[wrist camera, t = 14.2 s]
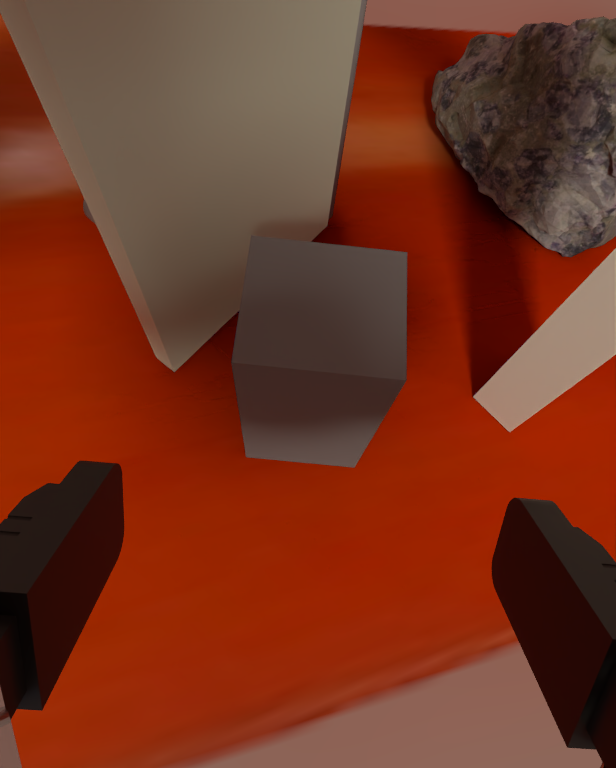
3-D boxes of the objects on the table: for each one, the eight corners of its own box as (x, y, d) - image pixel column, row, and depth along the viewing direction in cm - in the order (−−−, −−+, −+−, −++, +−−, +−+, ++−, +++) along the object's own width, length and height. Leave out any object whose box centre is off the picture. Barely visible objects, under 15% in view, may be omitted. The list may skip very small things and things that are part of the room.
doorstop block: (354, 467, 24) (406, 380, 15) (246, 457, 24) (231, 362, 15) (358, 378, 26) (407, 252, 17) (257, 368, 26) (251, 235, 16)
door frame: (268, 197, 30) (267, -651, 10) (308, 173, 31) (379, -647, 11) (509, 432, 25) (1476, -277, 5) (547, 395, 26) (1495, -328, 6)
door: (302, 190, 30) (339, -272, 14) (338, 215, 29) (417, -238, 14) (135, 340, 25) (-82, -93, 10) (174, 372, 25) (11, -32, 9)
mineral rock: (417, 105, 34) (472, -82, 25) (571, 102, 35) (678, -78, 26) (462, 269, 29) (552, 111, 20) (640, 259, 30) (803, 105, 21)
